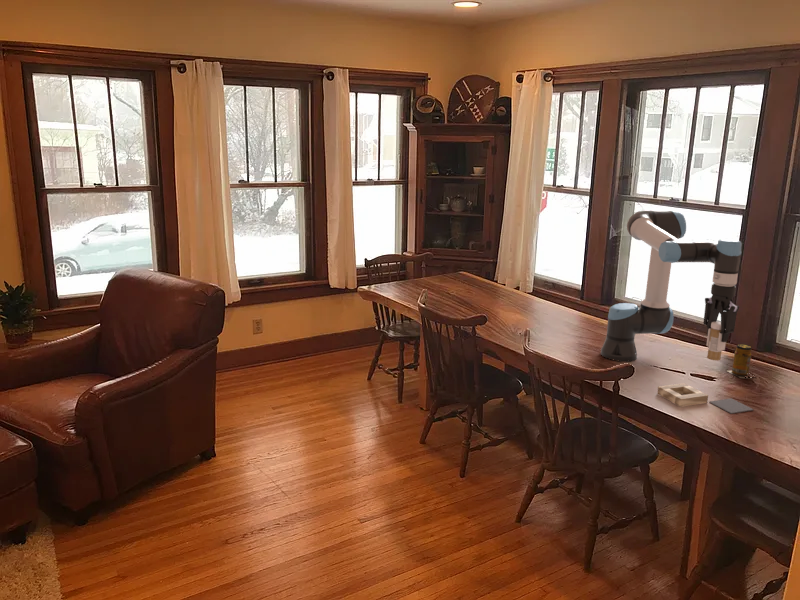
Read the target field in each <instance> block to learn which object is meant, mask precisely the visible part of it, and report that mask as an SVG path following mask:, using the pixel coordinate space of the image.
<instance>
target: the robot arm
mask: <svg viewBox="0 0 800 600" xmlns="http://www.w3.org/2000/svg"><path fill="white" fill-rule="evenodd" d="M626 229H627V232H628V235H629V236H630V237H632V238H633V239H635V240H638V241H642V242H643V243H646V244H647V245H648V246H649V247H651V249H650V255H649V256H650V257H649V265H648V273H647V282H646V290H645V297H644V299H643V300H641V301H640V306H638V305H637V304H635V303H632V302H631V303H627V302H619V303H615V304H613V305H612V306H610V307H609V309H608V310H609V311H608V314H607V327H606V337H605V340H604V342H603V343H602V344H603V345H602V347H601V349H600V356H601V355H602V357H603V356H604V357H606V358H605V359H607V358H610V359H614V360H619V361H618V362H621V361H626V363H627V362H634V361H636V360H637V358H638V357H637V356H638V353H637V347H636V343H635V336H636V335H638V334H639V335H644V334H645V335H647V334H649V335H651V334H655V335H658V334H666V333H668V332H669V331H670V330H671V328H672V327H673V324H674V316H675V315H674V310H673V309H672V308H671V307H670V304H669V302H668V301H667V298H668V292H669V291H668V290H669V284H670V274H671V269H672V264H674V263H711V264H713V265H714V266H713V275H712V284H711V288H710V289H711V290H710V294H711V296H710V297H705V298H704V303H705V305H704V306H705V307H704V314H703V323H702V324H703V325H704V326H705V325H706V328H707V331H706V336H707V337H706V344H705V345H706V347H708V346H709V340H710V333H711V323H712V322H718V321H717V320H718V318H719V315H720V322H721V332H719V338H718V345H717V350H718V351H721V350H722V351H726V344H727V342H728V337H729V334H731V333H732V334H733V333H734V332H735V327H736V319H737V315H738V314H737V313H738V311H739V309H740V306H739V305H736V304H734V300H733V298H734V297H735V295H736V291H737V286H736V285H737V283H738V275H739V269H740V264H741V263H740V262H741V256H742V246H743V243H742V241H741V240H739V239H733V238H721V239H719V240H718V241H716V240H712V239H703V240H701V241H700V240H698V241H697V240H695V241H693V240H692V241H691V240H689V241H688V240H687V241H684V240H683V241H682V240H681V238H684V236H685V235H686V231H687V222H686V218H685V216H684V214H683V213H682V212H681V211H679V210H677V209H644V210H643V209H642V210H639V211H636V212H635V213H633V214H632V215H631V216H630V217H629V218H628V220H627V224H626ZM722 351H721V352H722ZM604 357H603V358H604ZM610 359H609V360H610ZM614 360H613V361H614Z"/></svg>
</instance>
